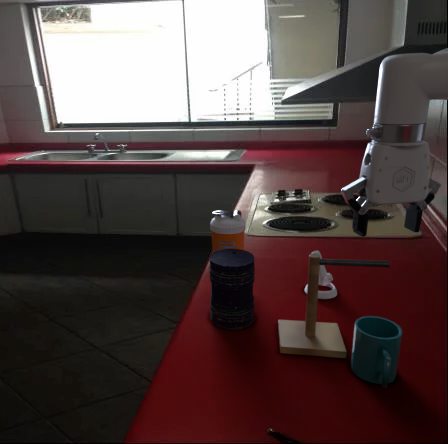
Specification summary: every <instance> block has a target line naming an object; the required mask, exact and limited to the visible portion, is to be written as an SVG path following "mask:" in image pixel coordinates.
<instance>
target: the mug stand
mask: <svg viewBox="0 0 448 444" xmlns="http://www.w3.org/2000/svg"><path fill="white" fill-rule="evenodd" d="M320 265H324V266H331V267H333V266H335V267H336V266H337V267H362V268H363V267H364V268H387V269H388V268H390V267H391V262H390V260H369V259H339V258H337V259H336V258H322V259H320V255H319V254H312V253H310V254H308V269H307V271H308V272H307V284H308V286H307V294H306V307H305V320H291V319H278V320H277V328H278V341H279V342H278V343H279V353H280V354H288V355H299V356H300V355H301V356H313V357H324V358H335V359H336V358H339V359H347V349H346V345H345V343H344V339H343V336H342V333H341V331H340V327H339V324H338V323H337V322H323V321H322V322H321V321H317V315H318V299H319V298H318V291H319V287H320V285H319V271H320Z"/></svg>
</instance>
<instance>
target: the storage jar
mask: <svg viewBox="0 0 448 444" xmlns="http://www.w3.org/2000/svg"><path fill="white" fill-rule="evenodd" d="M255 260H256V259H255V255H254V254H253V253H251V252H250V251H247V250H240V249H223V250H218V251H216V252H213V251H212V253H211V254H209V268H208V271H209V281H210V288H211V289H210V291H211V294H210V297H209V298H210V302H209V306H210V307H209V308H210V320H211V322H212V323H213V324H214V325H216V326H217V327H220V328H222V329H225V330H241V329H245V328H247V327H249V326H251V325H252V324H253V322H254V319H255V316H254V313H255V295H254V283H255V279H256V277H255V274H256V267H255Z"/></svg>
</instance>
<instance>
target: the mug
mask: <svg viewBox="0 0 448 444" xmlns="http://www.w3.org/2000/svg"><path fill="white" fill-rule="evenodd" d="M352 337H353V338H352V348H351V357H350V368H351V371H352V372H353V374H355V376H356V377H358V378H359V379H361V380H363V381H365V382H368V383H371V384H375V385H381V387H382V388H383V389H387V388H388V387H389V384H390V383H393V382H394V381H395V380H396V379H397V375H398V374H397V373H398V367H399V362H400V361H399V360H400V353H401V346H402V340H403V339H402V338H403V328H402V327H401V326H400V325H399V324H397V323H396V322H395V321H393V320H390V319H388V318H385V317H381V316H376V315H375V316H374V315H366V316H361V317H359V318H357V319H356V320H355V322H354V327H353V336H352Z"/></svg>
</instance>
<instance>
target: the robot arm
mask: <svg viewBox="0 0 448 444" xmlns="http://www.w3.org/2000/svg"><path fill="white" fill-rule="evenodd" d="M431 100H446V101H448V47H446V48H444V49H441V50H438V51H436V52H434V53H427V52H411V53H399V54H392V55H388V56H386V57H384V59H382V61H381V63H380V66H379V71H378V81H377V91H376V99H375V108H374V118H373V124H372V127H371V128H367V129H366V131H365V136H366V137H367V138H371V141H370V142H368V143H367V146H366V148H365V152H364V155H363V158H362V163H361V167H360V173H359V178H358V179H356V180H354V181H352V182H351V183H349V184H348V185H346V186H344V187H342V188H341V189H340V193H341V195H342V197H343V199H344V203H345V204H346V205H347V206H348V207H349V208H350V210H351V211H353V213H352V225H351V228H352V231H353V233H354V234H356V235H357V236H359V237H361V238H363V237H364V238H365V237H366V236H367V233H368V224H369V214H367V212H368V211H369V210H370V208H372V206H374V205H377V206H383V205H386V206H387V205H398V204H399V205H400V204H409V205H408V206H406V209H405V217H404V224H403V227H404V228H405V229H407V230H409V231H411V232H413V233H419V232H420V230H421V225H422V220H423V219H422V218H423V214H424V213H423V212H424V211H426V210H427V209H428V206H429V205H430V203H431V202H432V201H434V200H435V197H436V195H437V194H438V191H439V190H440V189H441V187H442V184H441V183H440V182H439V181H437V180H436V179H433V178H432V177H430V171H431V155H430V152H431V151H430V144H429V142H428V141H425V137H426V129H427V122H428V116H429V108H430V102H431ZM355 193H357V196H358V198H357V199H355V197H354V194H355Z"/></svg>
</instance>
